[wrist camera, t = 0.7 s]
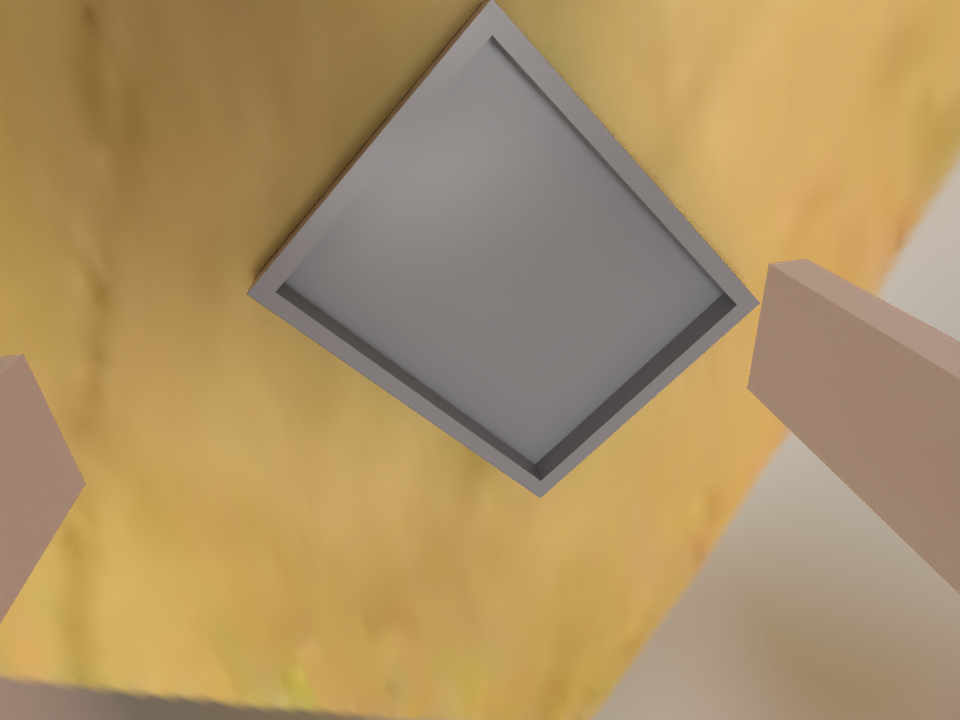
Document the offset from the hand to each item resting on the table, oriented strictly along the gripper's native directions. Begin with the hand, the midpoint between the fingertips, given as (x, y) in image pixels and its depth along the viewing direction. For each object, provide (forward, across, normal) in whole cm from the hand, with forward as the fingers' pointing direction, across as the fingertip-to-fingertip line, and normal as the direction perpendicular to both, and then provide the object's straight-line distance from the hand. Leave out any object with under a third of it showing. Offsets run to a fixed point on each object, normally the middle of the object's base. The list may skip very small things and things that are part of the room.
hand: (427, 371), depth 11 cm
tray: (+23, +6, -8) cm, 25 cm away
